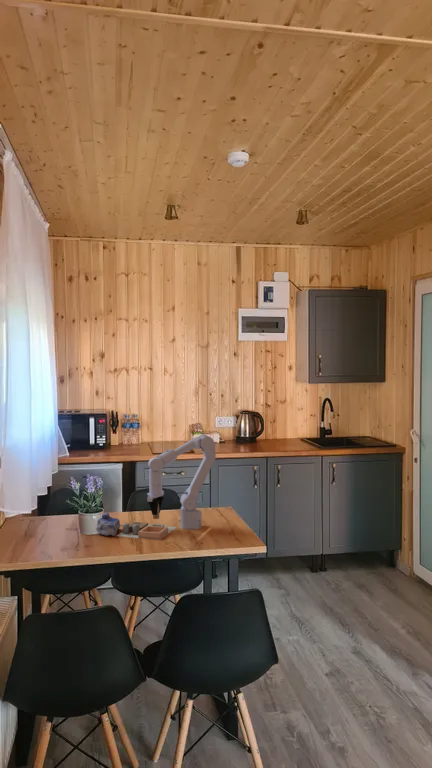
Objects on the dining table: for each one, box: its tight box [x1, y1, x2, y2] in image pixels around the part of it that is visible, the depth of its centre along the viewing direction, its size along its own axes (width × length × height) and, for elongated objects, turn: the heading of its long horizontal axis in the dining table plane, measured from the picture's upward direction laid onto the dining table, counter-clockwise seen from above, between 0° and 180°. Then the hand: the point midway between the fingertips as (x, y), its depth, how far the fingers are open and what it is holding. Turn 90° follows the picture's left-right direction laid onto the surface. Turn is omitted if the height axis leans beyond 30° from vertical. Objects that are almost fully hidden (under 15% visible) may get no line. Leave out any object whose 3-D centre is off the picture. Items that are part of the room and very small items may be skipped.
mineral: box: [95, 512, 121, 537], centre depth 251 cm, size 14×10×10 cm
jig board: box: [115, 522, 177, 541], centre depth 252 cm, size 21×20×5 cm
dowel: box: [152, 505, 160, 520], centre depth 255 cm, size 3×3×7 cm
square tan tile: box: [128, 521, 149, 533], centre depth 254 cm, size 8×8×2 cm
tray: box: [137, 526, 168, 540], centre depth 246 cm, size 10×10×2 cm
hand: (156, 513), depth 255 cm, fingers closed on dowel, 3 cm apart
